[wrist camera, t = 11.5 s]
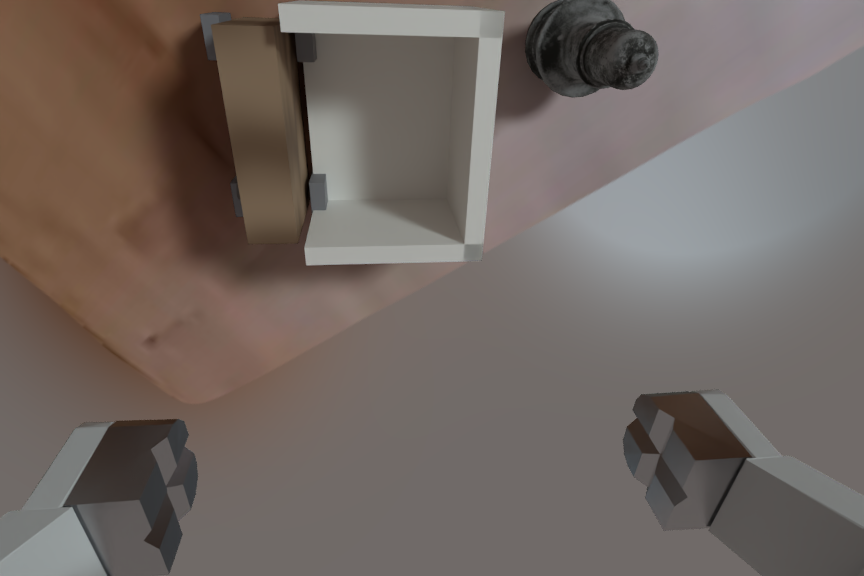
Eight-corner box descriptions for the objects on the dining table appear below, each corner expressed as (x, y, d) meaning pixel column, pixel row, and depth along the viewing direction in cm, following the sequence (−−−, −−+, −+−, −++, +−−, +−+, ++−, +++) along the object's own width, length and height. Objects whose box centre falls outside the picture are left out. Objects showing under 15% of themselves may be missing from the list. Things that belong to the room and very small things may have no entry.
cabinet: (211, -3, 31) (159, -1, 23) (472, 6, 33) (504, 11, 25) (246, 211, 38) (216, 267, 30) (459, 208, 40) (481, 260, 32)
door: (233, 16, 32) (195, 24, 25) (293, 18, 32) (273, 26, 25) (260, 198, 38) (236, 244, 31) (310, 197, 38) (297, 243, 31)
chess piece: (619, 46, 35) (726, 69, 25) (551, 106, 36) (625, 151, 26) (575, -29, 32) (673, -37, 22) (504, 39, 34) (564, 60, 24)
